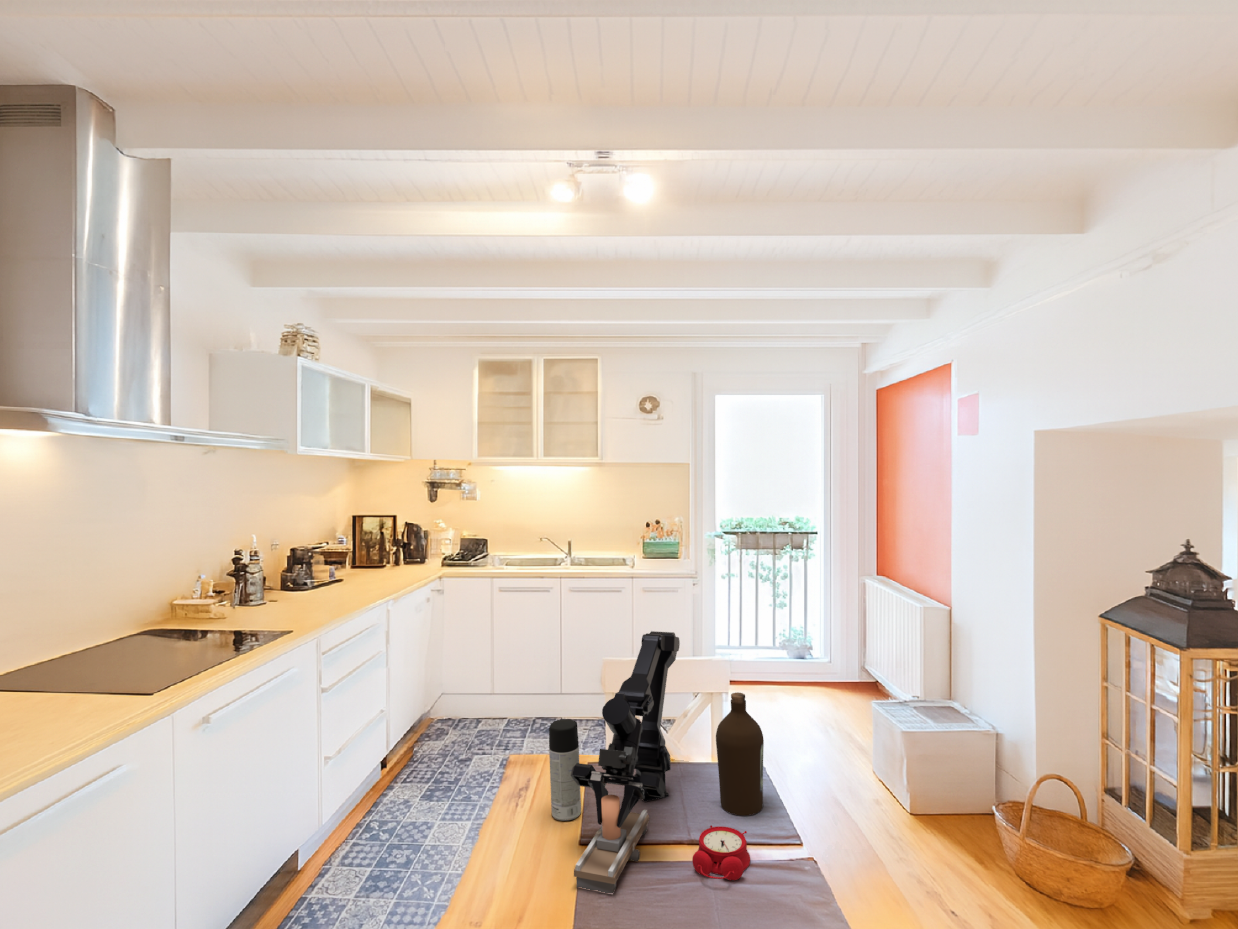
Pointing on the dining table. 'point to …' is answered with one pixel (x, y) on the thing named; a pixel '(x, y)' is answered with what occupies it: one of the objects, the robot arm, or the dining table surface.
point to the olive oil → (740, 760)
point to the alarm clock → (721, 853)
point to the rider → (611, 825)
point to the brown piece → (610, 856)
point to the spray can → (564, 769)
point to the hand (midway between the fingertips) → (608, 825)
